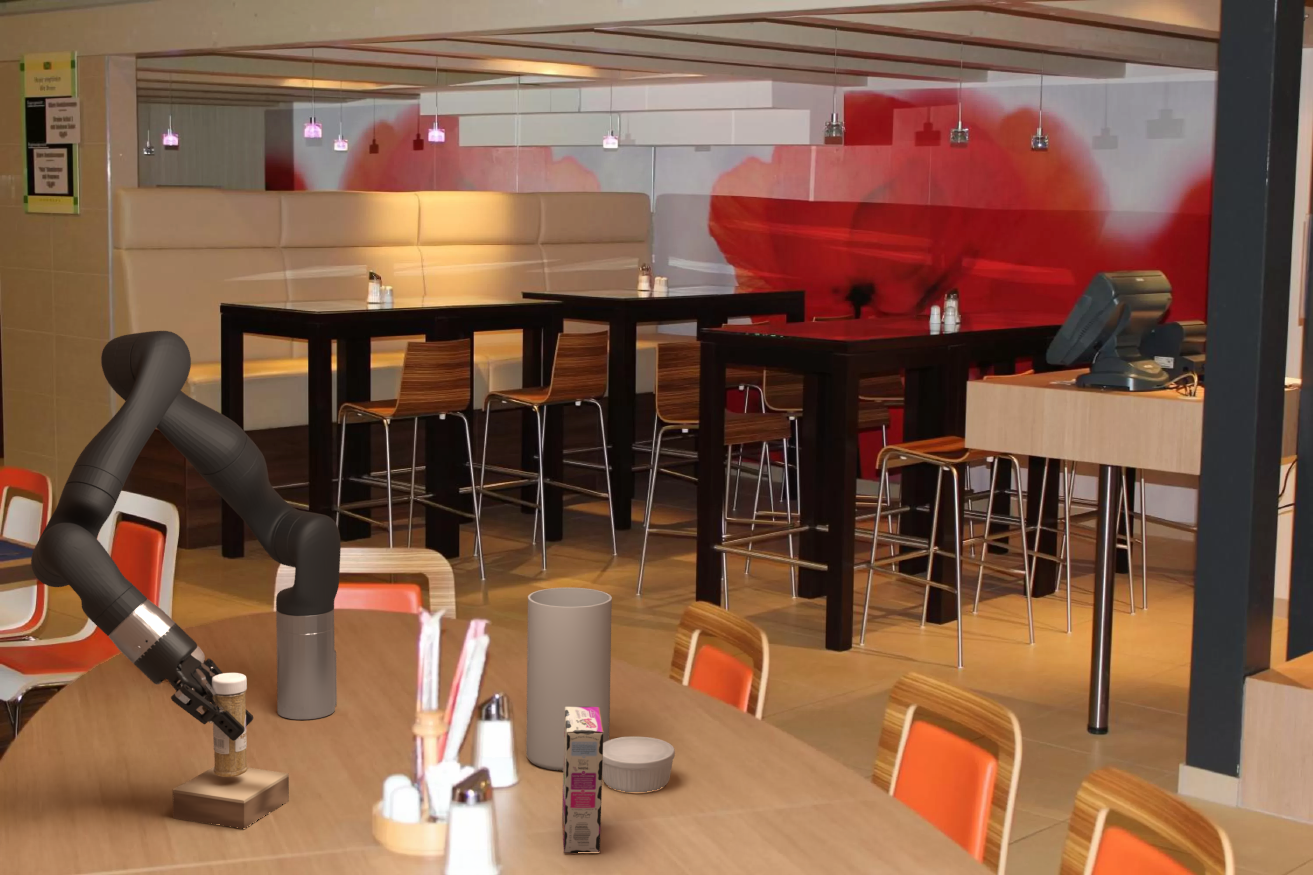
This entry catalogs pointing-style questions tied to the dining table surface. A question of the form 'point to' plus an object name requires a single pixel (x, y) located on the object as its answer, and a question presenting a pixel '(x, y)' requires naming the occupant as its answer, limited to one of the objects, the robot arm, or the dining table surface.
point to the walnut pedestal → (231, 797)
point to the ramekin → (637, 763)
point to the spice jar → (233, 700)
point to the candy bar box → (582, 779)
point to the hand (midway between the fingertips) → (244, 728)
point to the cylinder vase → (565, 666)
